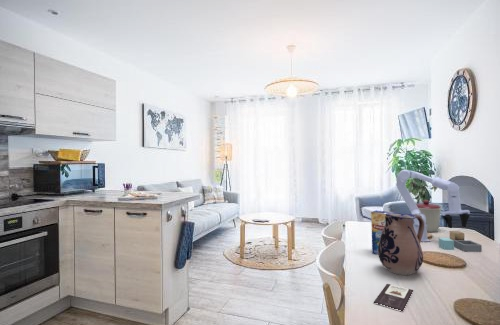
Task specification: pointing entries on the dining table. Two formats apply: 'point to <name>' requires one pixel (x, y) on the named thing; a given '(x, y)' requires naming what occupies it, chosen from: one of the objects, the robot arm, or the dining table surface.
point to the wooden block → (456, 235)
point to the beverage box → (377, 228)
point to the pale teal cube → (446, 243)
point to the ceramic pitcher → (401, 244)
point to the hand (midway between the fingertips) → (457, 227)
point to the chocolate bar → (394, 296)
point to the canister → (430, 215)
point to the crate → (467, 246)
